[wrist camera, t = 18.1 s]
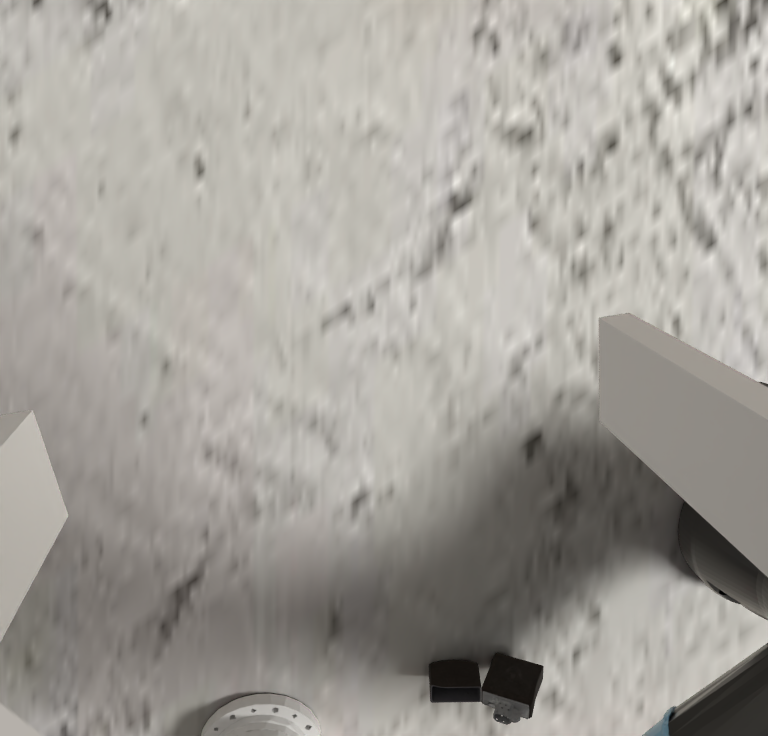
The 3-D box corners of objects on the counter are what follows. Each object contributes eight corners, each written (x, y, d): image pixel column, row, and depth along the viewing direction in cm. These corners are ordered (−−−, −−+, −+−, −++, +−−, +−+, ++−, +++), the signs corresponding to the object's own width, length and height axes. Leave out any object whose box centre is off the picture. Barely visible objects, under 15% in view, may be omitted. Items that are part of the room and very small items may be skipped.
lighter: (442, 656, 59) (419, 705, 54) (442, 636, 58) (418, 684, 54) (542, 686, 56) (526, 741, 51) (543, 665, 55) (527, 719, 50)
